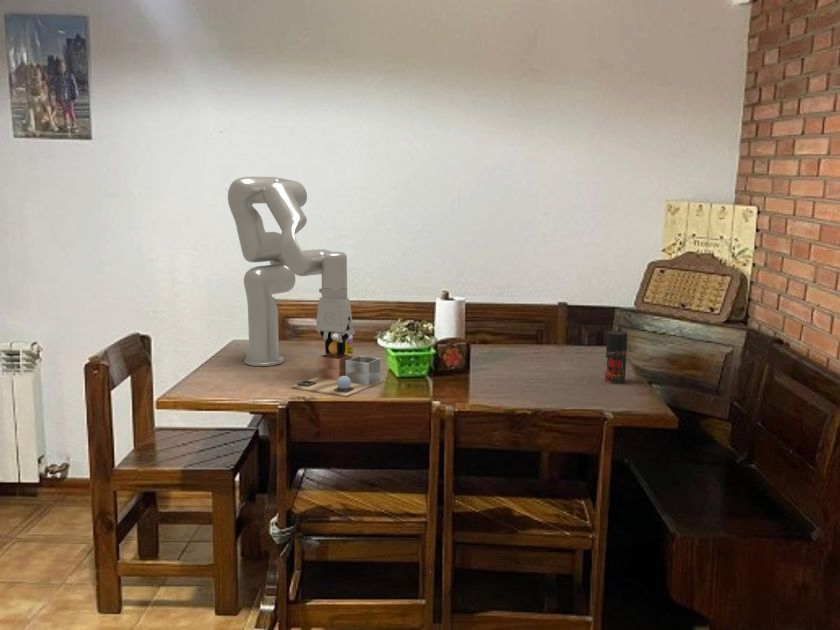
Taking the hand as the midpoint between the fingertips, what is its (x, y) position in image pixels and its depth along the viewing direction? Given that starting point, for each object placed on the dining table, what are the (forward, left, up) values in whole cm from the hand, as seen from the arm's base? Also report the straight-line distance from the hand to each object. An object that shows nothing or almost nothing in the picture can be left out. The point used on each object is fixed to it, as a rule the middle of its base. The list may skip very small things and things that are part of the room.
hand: (335, 353), depth 245 cm
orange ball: (0, 0, +2) cm, 2 cm away
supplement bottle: (-8, +16, -8) cm, 20 cm away
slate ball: (+11, -12, -5) cm, 17 cm away
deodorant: (+75, +39, -8) cm, 85 cm away
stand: (+5, -6, -8) cm, 11 cm away
